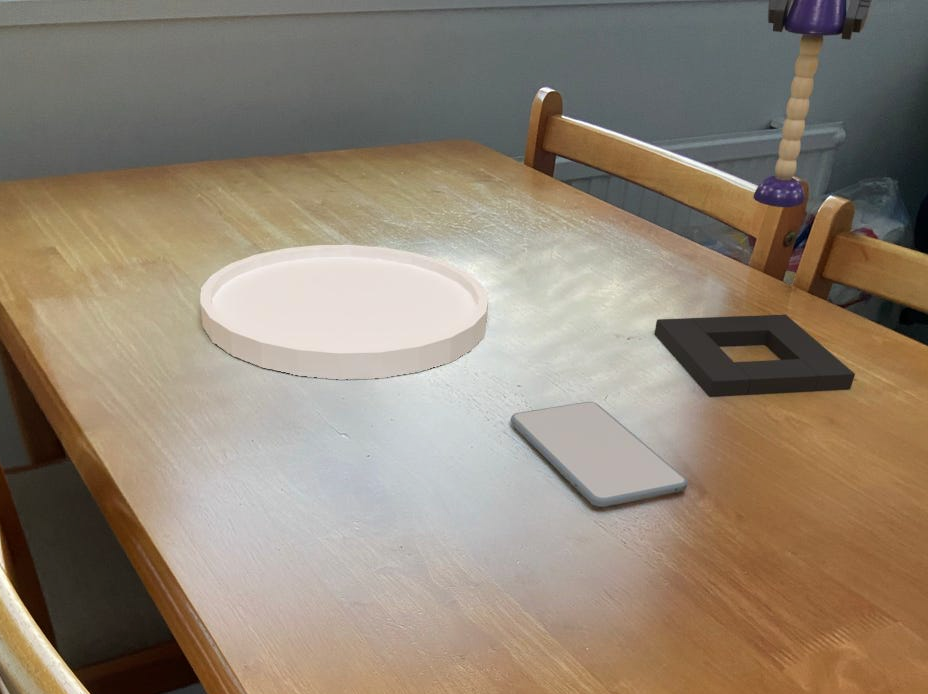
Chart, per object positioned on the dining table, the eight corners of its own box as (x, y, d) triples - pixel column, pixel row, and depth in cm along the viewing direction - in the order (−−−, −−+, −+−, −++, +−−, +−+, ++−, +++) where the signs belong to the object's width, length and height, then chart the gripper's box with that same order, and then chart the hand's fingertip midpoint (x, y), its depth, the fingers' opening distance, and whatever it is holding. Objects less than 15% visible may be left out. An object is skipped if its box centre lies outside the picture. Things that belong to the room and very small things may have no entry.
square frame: (778, 343, 100) (786, 314, 98) (845, 405, 90) (855, 373, 88) (651, 349, 97) (656, 319, 96) (705, 413, 87) (713, 381, 86)
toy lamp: (747, 204, 86) (800, -29, 75) (745, 189, 89) (794, -36, 79) (805, 210, 85) (866, -24, 75) (800, 194, 89) (857, -32, 78)
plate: (143, 311, 99) (140, 286, 97) (353, 249, 115) (353, 227, 114) (336, 410, 85) (336, 383, 83) (544, 323, 101) (547, 299, 99)
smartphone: (594, 399, 86) (693, 482, 76) (593, 410, 87) (690, 493, 76) (507, 413, 84) (596, 501, 73) (506, 424, 84) (594, 513, 74)
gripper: (784, -223, 77) (720, -18, 76) (984, -215, 73) (919, 1, 72) (778, -137, 84) (719, 51, 83) (960, -125, 80) (900, 72, 79)
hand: (812, 27), depth 78 cm, fingers closed on toy lamp, 4 cm apart
